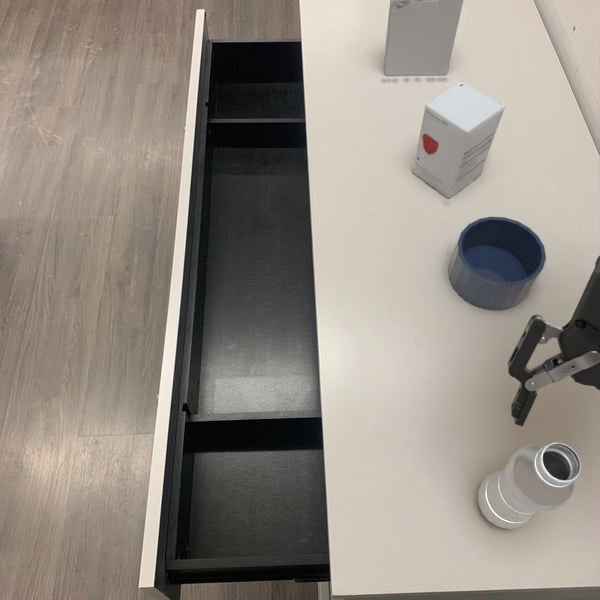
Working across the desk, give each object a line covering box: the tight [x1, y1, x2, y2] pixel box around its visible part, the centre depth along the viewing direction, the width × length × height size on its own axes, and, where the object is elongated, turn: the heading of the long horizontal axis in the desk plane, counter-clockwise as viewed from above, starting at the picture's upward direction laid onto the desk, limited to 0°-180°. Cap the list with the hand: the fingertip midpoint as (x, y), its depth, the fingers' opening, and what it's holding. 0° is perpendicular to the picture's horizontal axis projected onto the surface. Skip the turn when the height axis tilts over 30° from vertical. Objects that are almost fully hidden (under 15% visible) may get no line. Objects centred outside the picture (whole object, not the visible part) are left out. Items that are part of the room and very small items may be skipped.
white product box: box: [412, 80, 506, 199], centre depth 89 cm, size 9×9×15 cm
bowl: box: [448, 216, 547, 311], centre depth 80 cm, size 12×12×7 cm
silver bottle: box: [477, 441, 582, 530], centre depth 57 cm, size 6×7×20 cm
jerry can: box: [383, 0, 464, 77], centre depth 100 cm, size 15×5×25 cm, turn 88°
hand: (563, 440), depth 50 cm, fingers open, 8 cm apart
